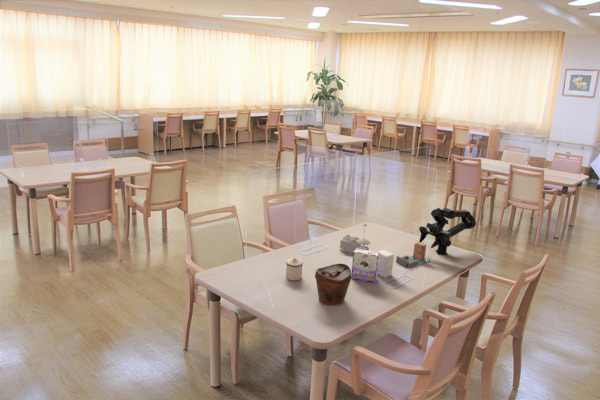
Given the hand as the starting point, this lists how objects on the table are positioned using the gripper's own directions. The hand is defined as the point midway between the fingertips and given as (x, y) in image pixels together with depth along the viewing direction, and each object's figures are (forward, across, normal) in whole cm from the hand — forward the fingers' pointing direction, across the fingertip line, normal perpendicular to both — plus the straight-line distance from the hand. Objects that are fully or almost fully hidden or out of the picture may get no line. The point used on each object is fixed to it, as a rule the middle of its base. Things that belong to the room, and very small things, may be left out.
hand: (425, 245), depth 306 cm
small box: (+34, +3, -22) cm, 40 cm away
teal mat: (+10, 0, +3) cm, 10 cm away
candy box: (+44, +2, -32) cm, 54 cm away
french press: (+34, -15, -22) cm, 43 cm away
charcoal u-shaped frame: (+17, 0, -5) cm, 18 cm away
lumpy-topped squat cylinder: (+29, -34, -16) cm, 48 cm away
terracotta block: (+9, 0, +2) cm, 10 cm away
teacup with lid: (+67, -21, -55) cm, 89 cm away
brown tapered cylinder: (+66, +11, -55) cm, 87 cm away
